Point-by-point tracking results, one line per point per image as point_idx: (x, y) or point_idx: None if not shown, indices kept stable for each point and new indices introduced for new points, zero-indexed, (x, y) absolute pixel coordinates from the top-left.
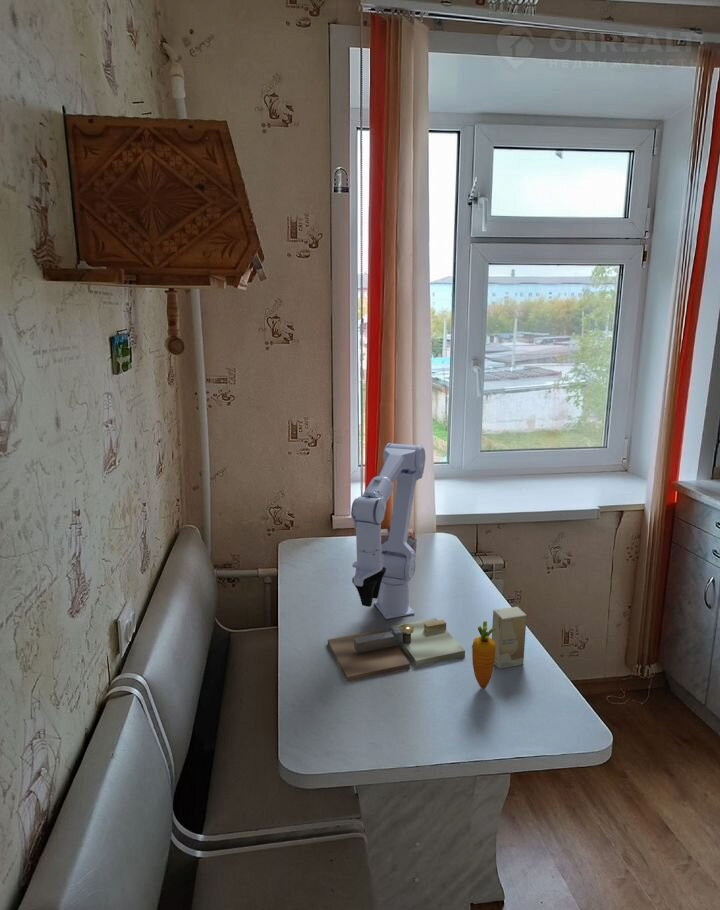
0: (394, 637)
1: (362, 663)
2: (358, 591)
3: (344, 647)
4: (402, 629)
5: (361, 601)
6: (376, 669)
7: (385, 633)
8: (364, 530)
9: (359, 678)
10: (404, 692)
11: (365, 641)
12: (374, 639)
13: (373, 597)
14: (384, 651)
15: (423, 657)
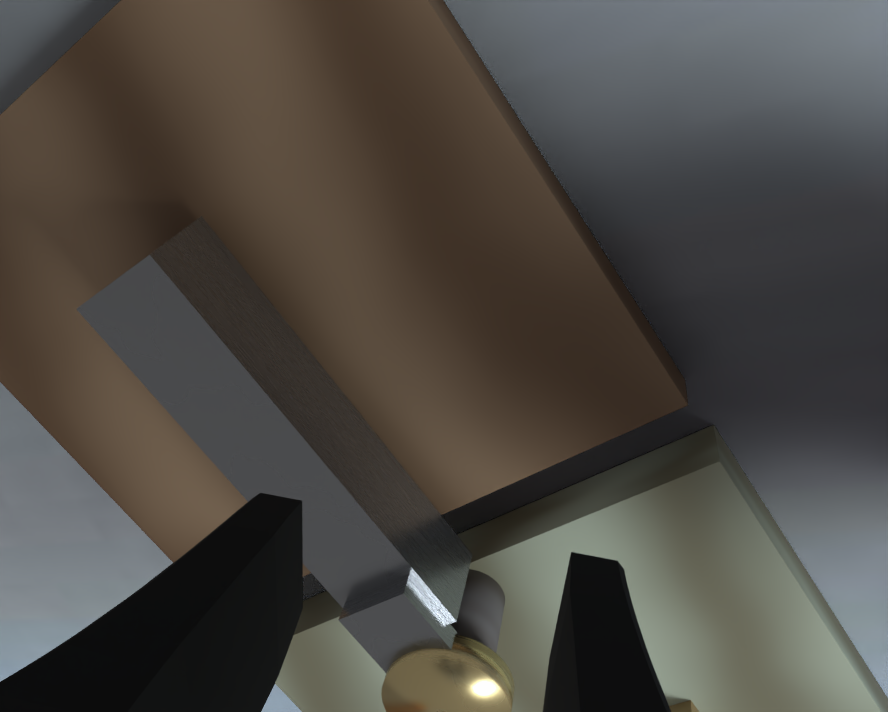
0: (333, 588)
1: (77, 316)
2: (19, 680)
3: (233, 90)
4: (400, 677)
5: (212, 534)
6: (58, 426)
7: (354, 525)
8: None
9: None
10: (6, 569)
11: (146, 378)
12: (212, 450)
13: (557, 626)
14: None
15: (301, 690)
